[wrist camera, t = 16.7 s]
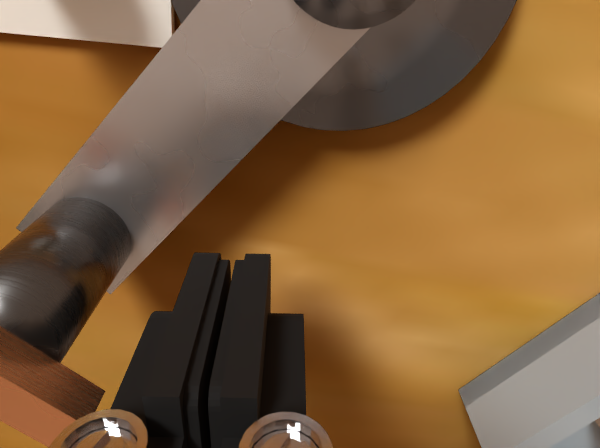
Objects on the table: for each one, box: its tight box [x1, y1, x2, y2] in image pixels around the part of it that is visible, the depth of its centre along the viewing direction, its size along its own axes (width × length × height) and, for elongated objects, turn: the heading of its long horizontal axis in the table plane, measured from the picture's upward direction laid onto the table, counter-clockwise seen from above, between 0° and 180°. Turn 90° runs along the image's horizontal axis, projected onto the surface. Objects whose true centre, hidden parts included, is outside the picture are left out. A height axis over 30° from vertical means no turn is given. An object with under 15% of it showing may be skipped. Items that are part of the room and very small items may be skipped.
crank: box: [0, 0, 415, 447], centre depth 9 cm, size 12×4×6 cm, turn 135°
